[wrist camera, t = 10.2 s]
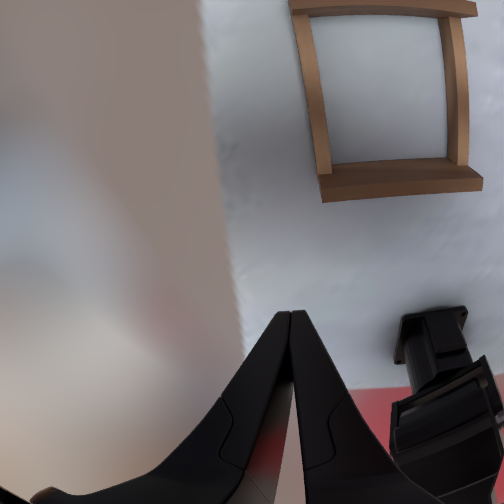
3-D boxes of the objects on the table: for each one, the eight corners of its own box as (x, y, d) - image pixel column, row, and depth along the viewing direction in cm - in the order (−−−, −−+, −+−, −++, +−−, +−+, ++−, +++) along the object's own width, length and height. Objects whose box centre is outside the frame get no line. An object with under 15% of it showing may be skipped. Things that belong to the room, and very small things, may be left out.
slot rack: (456, 169, 17) (481, 190, 14) (317, 178, 19) (322, 202, 16) (407, -114, 6) (424, -135, 3) (254, -117, 8) (247, -143, 5)
